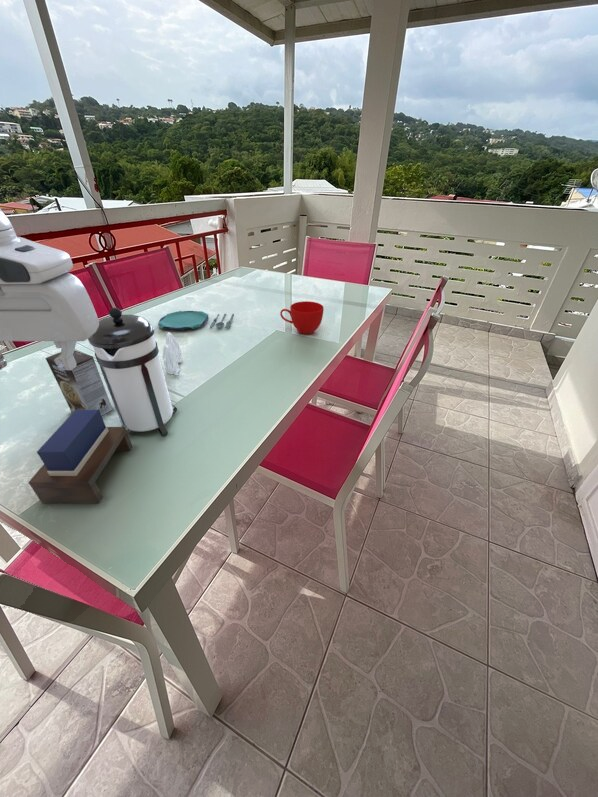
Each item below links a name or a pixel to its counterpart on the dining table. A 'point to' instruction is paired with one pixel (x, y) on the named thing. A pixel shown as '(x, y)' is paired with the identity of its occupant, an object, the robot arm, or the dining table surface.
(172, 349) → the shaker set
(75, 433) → the navy block white base
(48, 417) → the dining table surface
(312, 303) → the ceramic cup
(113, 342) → the coffee press
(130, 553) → the dining table surface
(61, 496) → the shelf
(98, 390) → the coffee box
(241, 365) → the dining table surface
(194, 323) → the cutlery set
